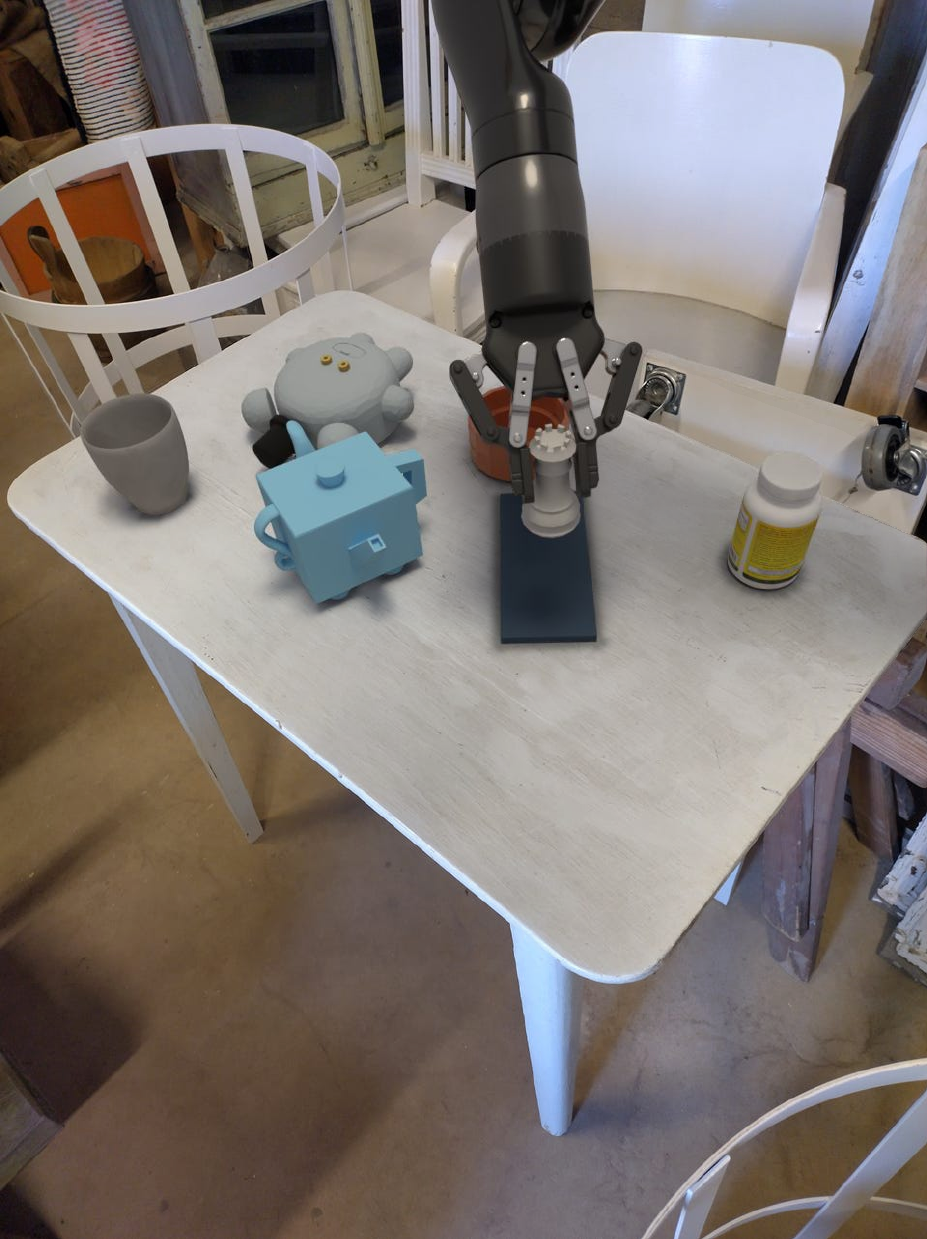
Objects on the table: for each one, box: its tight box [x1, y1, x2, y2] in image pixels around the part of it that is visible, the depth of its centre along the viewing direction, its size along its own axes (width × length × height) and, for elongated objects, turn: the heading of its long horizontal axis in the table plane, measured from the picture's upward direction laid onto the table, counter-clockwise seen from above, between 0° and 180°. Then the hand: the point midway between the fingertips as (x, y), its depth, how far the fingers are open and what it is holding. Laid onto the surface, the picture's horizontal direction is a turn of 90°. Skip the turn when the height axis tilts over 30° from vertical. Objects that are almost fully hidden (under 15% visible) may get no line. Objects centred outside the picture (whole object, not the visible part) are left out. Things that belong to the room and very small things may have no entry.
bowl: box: [467, 385, 570, 483], centre depth 83 cm, size 10×10×5 cm
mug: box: [79, 393, 190, 516], centre depth 81 cm, size 12×9×10 cm
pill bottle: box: [727, 451, 824, 590], centre depth 68 cm, size 6×6×11 cm
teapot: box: [253, 421, 428, 605], centre depth 72 cm, size 16×18×11 cm
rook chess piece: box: [521, 424, 581, 538], centre depth 59 cm, size 4×4×8 cm
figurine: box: [240, 332, 415, 470], centre depth 86 cm, size 17×8×20 cm
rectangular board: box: [499, 490, 598, 644], centre depth 74 cm, size 18×8×1 cm, turn 179°
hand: (556, 498), depth 57 cm, fingers closed on rook chess piece, 3 cm apart
